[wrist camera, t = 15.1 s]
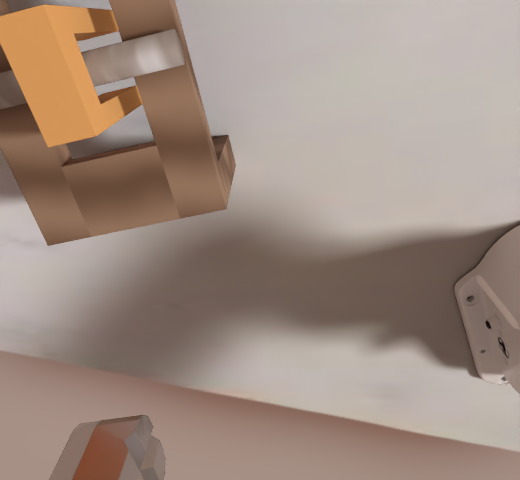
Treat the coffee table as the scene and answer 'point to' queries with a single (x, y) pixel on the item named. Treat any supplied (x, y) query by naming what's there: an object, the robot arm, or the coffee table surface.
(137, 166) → the wooden table with hole
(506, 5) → the coffee table surface
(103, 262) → the coffee table surface
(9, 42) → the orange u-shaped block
